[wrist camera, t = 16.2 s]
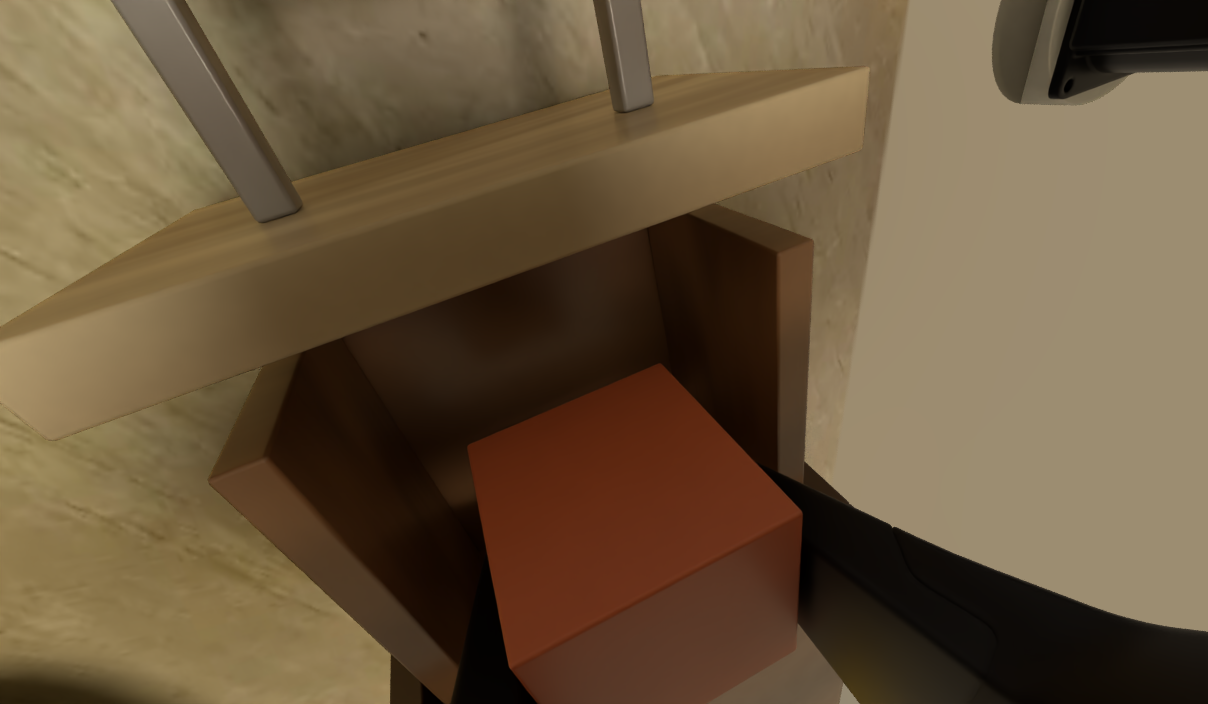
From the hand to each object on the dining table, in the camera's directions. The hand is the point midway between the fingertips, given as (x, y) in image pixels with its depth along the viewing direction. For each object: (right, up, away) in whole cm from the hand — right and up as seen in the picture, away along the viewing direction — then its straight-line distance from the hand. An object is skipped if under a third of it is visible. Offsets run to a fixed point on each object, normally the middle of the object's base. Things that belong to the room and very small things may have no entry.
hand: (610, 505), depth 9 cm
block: (0, 0, +1) cm, 1 cm away
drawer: (-3, +5, +4) cm, 7 cm away
